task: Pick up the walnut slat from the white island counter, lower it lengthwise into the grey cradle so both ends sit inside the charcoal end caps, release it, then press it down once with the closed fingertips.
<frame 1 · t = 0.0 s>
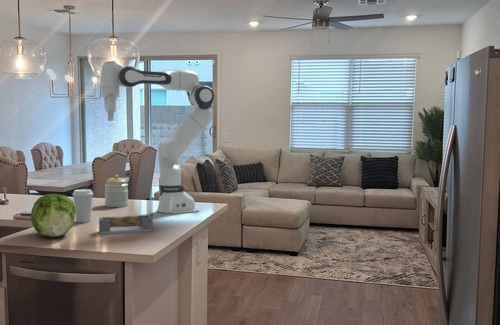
hand: (110, 120, 258), 48 cm above the worktop, fingers open, 8 cm apart
coffee cup: (83, 221, 242), on the worktop
lettuce: (55, 235, 213), on the worktop
grey cradle: (125, 231, 222), on the worktop
jar: (116, 205, 287), on the worktop
slat: (126, 225, 236), on the worktop
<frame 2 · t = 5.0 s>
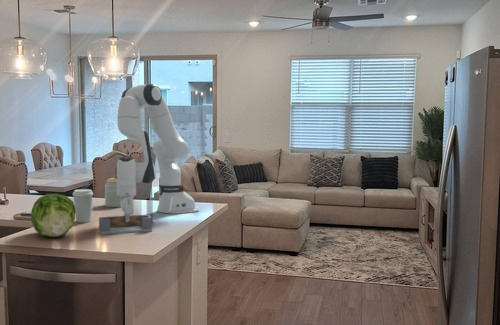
hand: (126, 220, 236), 2 cm above the worktop, fingers closed on slat, 3 cm apart
slat: (126, 224, 236), on the worktop, touching gripper
everything else where it was.
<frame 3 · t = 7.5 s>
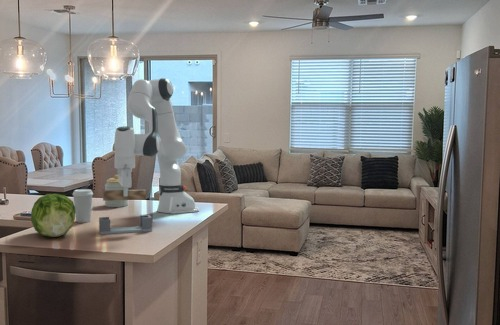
hand: (125, 195, 221), 16 cm above the worktop, fingers closed on slat, 3 cm apart
slat: (124, 199, 221), point 14 cm above the worktop, touching gripper
everything else where it was.
when the fingers open (4 cm above the worktop, at t = 10.1 s): slat drops 1 cm, resting on grey cradle.
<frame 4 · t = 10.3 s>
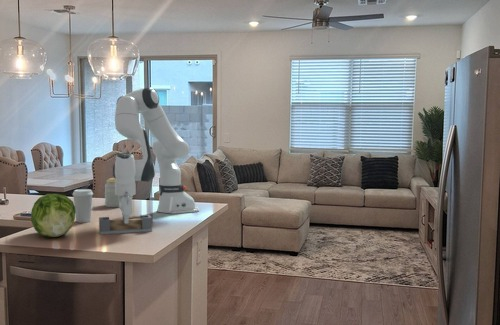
hand: (125, 221, 222), 4 cm above the worktop, fingers open, 5 cm apart
slat: (125, 228, 222), point 1 cm above the worktop, touching grey cradle
everything else where it was.
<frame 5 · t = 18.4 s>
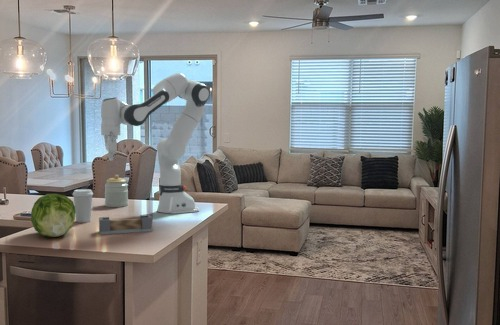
hand: (111, 160, 242), 29 cm above the worktop, fingers closed
nothing on the worktop moved.
at the end: slat 0.1 cm off-centre on the grey cradle, point 1.0 cm above the grey cradle's base; slat tilted 0°; the gripper is holding nothing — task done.
